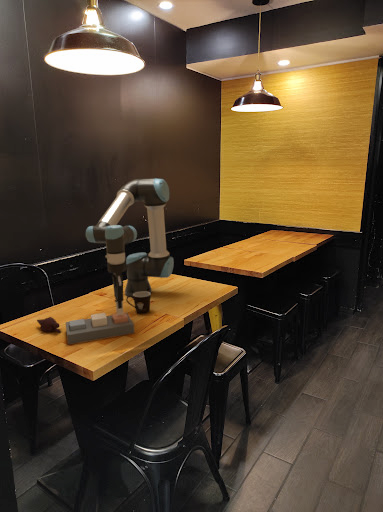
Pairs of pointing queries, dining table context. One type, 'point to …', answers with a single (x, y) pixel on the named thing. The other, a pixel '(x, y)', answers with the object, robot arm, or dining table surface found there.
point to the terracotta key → (119, 318)
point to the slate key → (77, 324)
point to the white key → (98, 320)
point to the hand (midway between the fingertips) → (120, 314)
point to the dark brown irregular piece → (49, 325)
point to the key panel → (99, 330)
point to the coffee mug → (141, 302)
